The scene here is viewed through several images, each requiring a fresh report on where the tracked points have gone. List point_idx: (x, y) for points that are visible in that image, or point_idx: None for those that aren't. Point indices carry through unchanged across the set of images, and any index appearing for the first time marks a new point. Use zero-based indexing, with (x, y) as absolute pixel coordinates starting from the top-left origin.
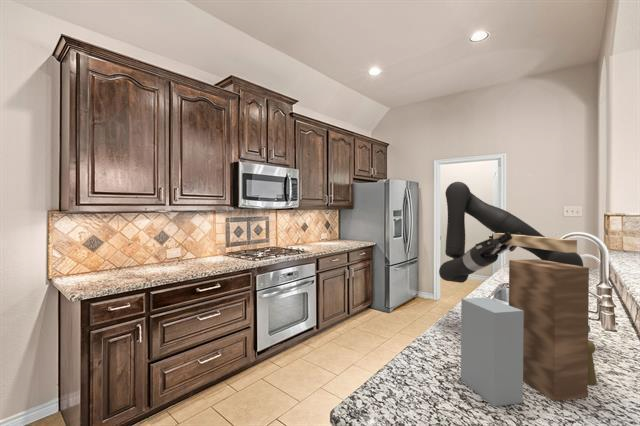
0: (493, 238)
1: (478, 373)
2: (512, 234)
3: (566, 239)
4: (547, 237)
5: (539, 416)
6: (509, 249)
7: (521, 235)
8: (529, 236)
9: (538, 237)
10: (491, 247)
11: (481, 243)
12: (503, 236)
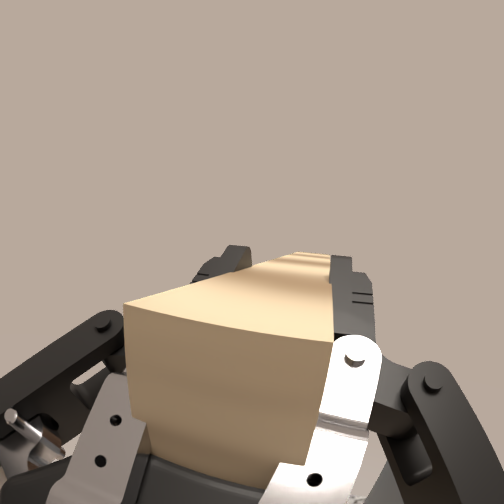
0: (310, 440)
1: None
2: (259, 273)
3: (308, 253)
4: (289, 255)
5: (355, 500)
6: (61, 452)
7: (293, 265)
8: (317, 262)
9: (327, 259)
10: (392, 468)
11: (494, 485)
12: (366, 302)
